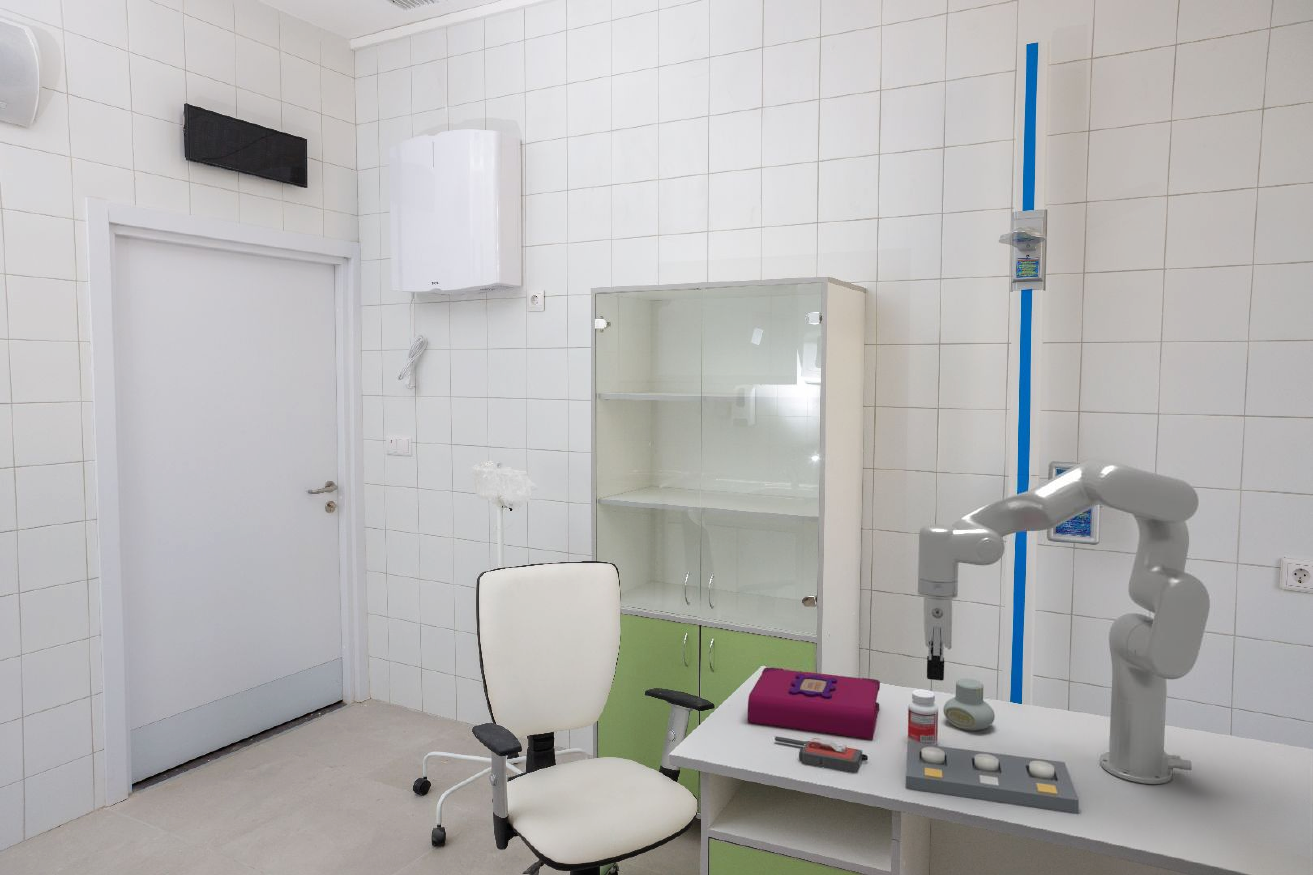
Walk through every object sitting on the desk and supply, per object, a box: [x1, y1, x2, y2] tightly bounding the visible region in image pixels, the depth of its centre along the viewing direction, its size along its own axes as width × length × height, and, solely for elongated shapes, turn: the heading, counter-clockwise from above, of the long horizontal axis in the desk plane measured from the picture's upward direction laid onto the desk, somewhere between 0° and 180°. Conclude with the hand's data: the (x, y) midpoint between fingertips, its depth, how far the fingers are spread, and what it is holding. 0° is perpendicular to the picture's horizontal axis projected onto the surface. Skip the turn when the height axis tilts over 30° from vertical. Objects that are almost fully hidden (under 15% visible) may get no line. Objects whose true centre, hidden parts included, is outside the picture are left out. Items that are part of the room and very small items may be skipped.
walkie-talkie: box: [774, 735, 869, 774], centre depth 174 cm, size 9×4×20 cm
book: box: [747, 666, 881, 741], centre depth 196 cm, size 21×28×8 cm
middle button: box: [974, 754, 999, 772], centre depth 165 cm, size 4×4×2 cm
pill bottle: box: [907, 688, 939, 746], centre depth 181 cm, size 6×6×11 cm
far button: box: [922, 747, 945, 765], centre depth 168 cm, size 4×4×2 cm
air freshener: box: [943, 678, 996, 731], centre depth 190 cm, size 11×8×10 cm
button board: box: [905, 741, 1080, 814], centre depth 163 cm, size 30×16×3 cm, turn 72°
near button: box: [1029, 761, 1054, 780], centre depth 162 cm, size 4×4×2 cm
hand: (935, 677), depth 167 cm, fingers closed
